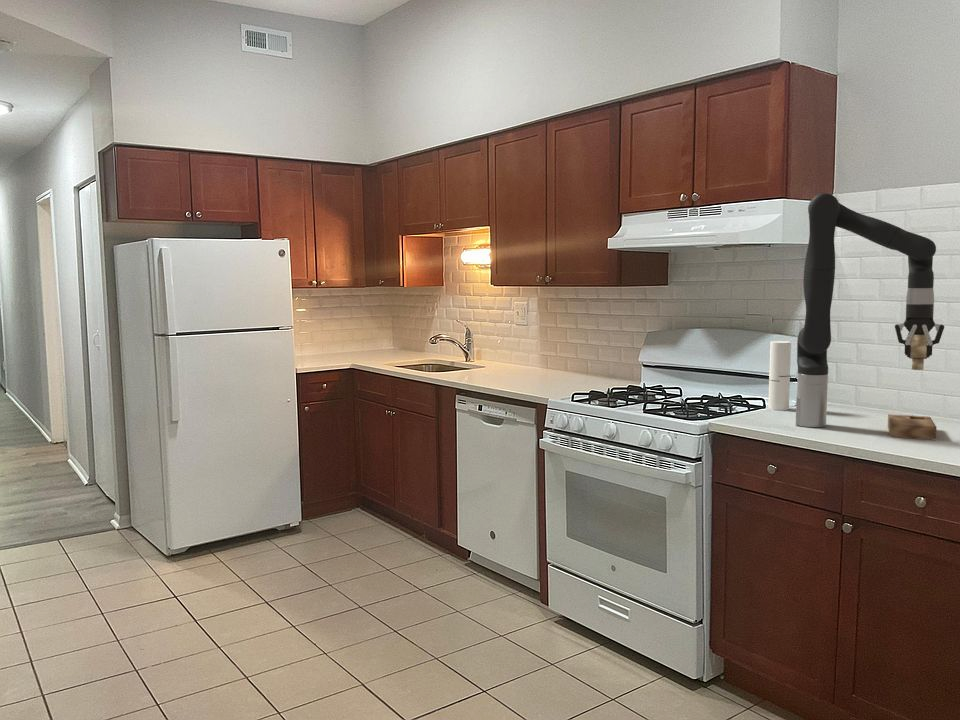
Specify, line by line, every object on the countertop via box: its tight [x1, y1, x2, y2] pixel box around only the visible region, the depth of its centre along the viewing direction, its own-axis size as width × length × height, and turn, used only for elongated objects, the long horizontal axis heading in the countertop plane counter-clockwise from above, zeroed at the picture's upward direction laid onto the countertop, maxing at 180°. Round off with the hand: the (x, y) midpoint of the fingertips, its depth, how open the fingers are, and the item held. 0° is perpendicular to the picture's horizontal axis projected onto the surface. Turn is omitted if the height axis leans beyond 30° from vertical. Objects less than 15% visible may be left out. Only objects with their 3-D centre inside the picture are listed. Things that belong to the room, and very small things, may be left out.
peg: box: [908, 334, 928, 371], centre depth 246 cm, size 5×5×11 cm
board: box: [887, 413, 937, 440], centre depth 247 cm, size 12×18×4 cm, turn 156°
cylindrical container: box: [767, 340, 792, 411], centre depth 291 cm, size 7×7×25 cm
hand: (917, 356), depth 246 cm, fingers closed on peg, 4 cm apart
